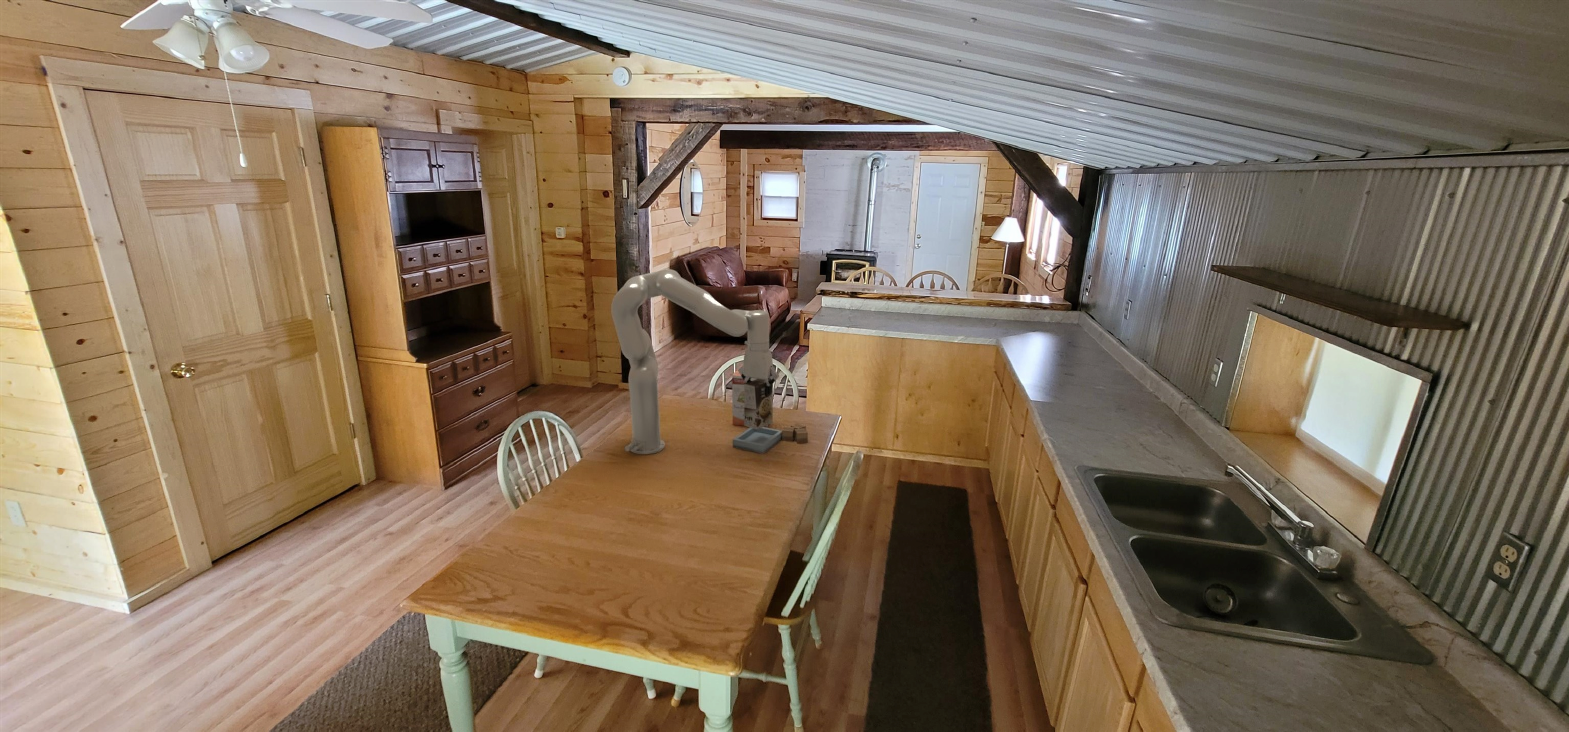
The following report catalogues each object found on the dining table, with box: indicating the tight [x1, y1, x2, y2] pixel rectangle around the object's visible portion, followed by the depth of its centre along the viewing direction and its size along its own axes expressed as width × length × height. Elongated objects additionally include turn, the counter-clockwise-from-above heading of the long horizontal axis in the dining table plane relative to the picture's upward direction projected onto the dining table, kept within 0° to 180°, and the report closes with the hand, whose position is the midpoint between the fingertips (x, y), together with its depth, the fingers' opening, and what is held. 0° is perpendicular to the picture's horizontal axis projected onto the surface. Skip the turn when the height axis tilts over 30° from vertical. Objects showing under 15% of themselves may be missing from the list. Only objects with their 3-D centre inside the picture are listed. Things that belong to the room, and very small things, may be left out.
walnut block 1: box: [781, 426, 795, 442], centre depth 240 cm, size 4×4×4 cm
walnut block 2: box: [790, 422, 807, 430], centre depth 243 cm, size 4×4×4 cm
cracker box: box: [731, 370, 770, 428], centre depth 250 cm, size 14×6×21 cm, turn 78°
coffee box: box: [744, 379, 774, 430], centre depth 232 cm, size 9×6×16 cm
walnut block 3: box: [794, 428, 809, 444], centre depth 238 cm, size 4×4×4 cm
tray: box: [732, 427, 783, 455], centre depth 236 cm, size 15×12×3 cm
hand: (758, 393), depth 231 cm, fingers closed on coffee box, 7 cm apart
